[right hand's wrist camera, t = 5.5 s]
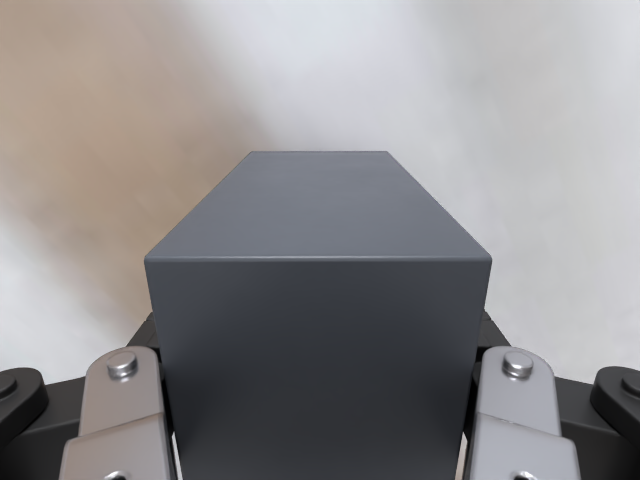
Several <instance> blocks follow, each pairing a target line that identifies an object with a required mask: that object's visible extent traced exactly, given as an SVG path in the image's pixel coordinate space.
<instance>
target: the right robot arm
mask: <svg viewBox="0 0 640 480" xmlns="http://www.w3.org/2000/svg"><path fill="white" fill-rule="evenodd" d="M173 432H174V427H173V421H172V416H171V410H170V405H169V399H168V393H167V388H166V382H165V377H164V371H163V365H162V360H161V354H160V349H159V343H158V337H157V332H156V326H155V321H154V315H153V312H151V313H150V315H149V316H148V317H147V319H146V321H144V323H143V324H142V325H141V327H140V328H139V329H138V331H137V332H136V334H135V335H134V336H133V338H132V339H131V340H130V342H129V343H128V344H127V346H126V347H123V348H120V349H116V350H114V351H111V352H109V353H107V354H105V355H103V356H101V357H100V358H98V359H97V360H96V361H95V362H94V363H92V365H91V366H90V367H89V369H88V370H87V373H86V376H84V377H81V378H77V379H73V380H68V381H63V382H58V383H53V384H49V385H45V384H44V381H43V378H42V375H41V373H40V372H39V371H38V370H36V369H33V368H14V369H9V370H5V371H2V372H0V480H178V474H177V467H176V460H175V452H174V446H173V441H172V435H173ZM463 432H464V434H465V436H466V439H467V446H466V452H465V460H464V467H463V474H462V480H640V371H638V370H634V369H630V368H625V367H617V366H612V367H605V368H602V369H600V370H599V371H598V373H597V375H596V378H595V381H594V384H593V385H592V384H587V383H583V382H578V381H573V380H568V379H563V378H559V377H555V376H554V373H553V370H552V369H551V367H550V366H549V365H548V363H546V362H545V361H544V360H543V359H542V358H540V357H539V356H537V355H535V354H533V353H531V352H529V351H526V350H524V349H520V348H517V347H512V346H511V345H510V344H509V342H508V341H507V340H506V338H505V337H504V335H503V334H502V333H501V331H500V330H499V329H498V327H497V326H496V324H495V323H494V322H493V321H491V318H490V316H489V315H488V313H487V312H485V309H484V311H483V317H482V323H481V329H480V335H479V341H478V346H477V352H476V358H475V364H474V370H473V376H472V382H471V387H470V393H469V399H468V405H467V411H466V417H465V422H464V428H463Z"/></svg>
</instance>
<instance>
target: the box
mask: <svg viewBox="0 0 640 480" xmlns="http://www.w3.org/2000/svg"><path fill="white" fill-rule="evenodd" d="M144 265H145V270H146V276H147V282H148V287H149V293H150V298H151V304H152V310H153V315H154V321H155V326H156V332H157V337H158V343H159V349H160V354H161V360H162V365H163V371H164V377H165V382H166V388H167V393H168V399H169V405H170V410H171V416H172V421H173V427H174V433H175V438H176V444H177V449H178V455H179V461H180V466H181V472H182V477H183V480H455V475H456V469H457V463H458V457H459V452H460V446H461V440H462V434H463V428H464V422H465V417H466V411H467V405H468V399H469V393H470V387H471V382H472V376H473V370H474V364H475V358H476V352H477V346H478V341H479V335H480V329H481V323H482V317H483V311H484V306H485V300H486V294H487V288H488V282H489V276H490V271H491V265H492V258H491V255H490V254H489V253H488V252H487V251H486V250H485V249H484V248H483V247H482V246H481V245H480V244H479V243H478V242H477V241H476V240H475V239H474V238H473V237H472V236H471V235H470V234H469V233H468V232H467V231H466V230H465V229H464V228H463V227H462V226H461V225H460V224H459V223H458V222H457V221H456V220H455V219H454V218H453V217H452V216H451V215H450V214H449V213H448V212H447V211H446V210H445V209H444V208H443V207H442V206H441V205H440V204H439V203H438V202H437V201H436V200H435V199H434V198H433V197H432V196H431V195H430V194H429V193H428V192H427V191H426V190H425V189H424V188H423V187H422V186H421V185H420V184H419V183H418V182H417V181H416V180H415V179H414V178H413V177H412V176H411V175H410V174H409V173H408V172H407V171H406V170H405V169H404V168H403V167H402V166H401V165H400V164H399V163H398V162H397V161H396V160H395V159H394V158H393V157H392V156H391V155H390V154H389V153H388V152H387V151H252V152H250V153H249V154H248V155H247V156H246V157H245V158H244V159H243V160H242V161H241V162H240V163H239V164H238V165H237V166H236V167H235V168H234V169H233V170H232V171H231V172H230V173H229V174H228V175H227V176H226V177H225V178H224V179H223V180H222V181H221V182H220V183H219V184H218V185H217V186H216V187H215V188H214V189H213V190H212V191H211V192H210V193H209V194H208V195H207V196H206V197H205V198H204V199H203V200H202V201H201V202H200V203H199V204H198V205H197V206H196V207H195V208H194V209H193V210H192V211H191V212H190V213H189V214H188V215H187V216H186V217H185V218H184V219H183V220H181V221H180V222H179V223H178V224H177V225H176V226H175V227H174V228H173V229H172V230H171V231H170V232H169V233H168V234H167V235H166V236H165V237H164V238H163V239H162V240H161V241H160V242H159V243H158V244H157V245H156V246H155V247H154V248H153V249H152V250H151V251H150V252H149V253H148V254H147V255H146V256H145V258H144Z"/></svg>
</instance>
